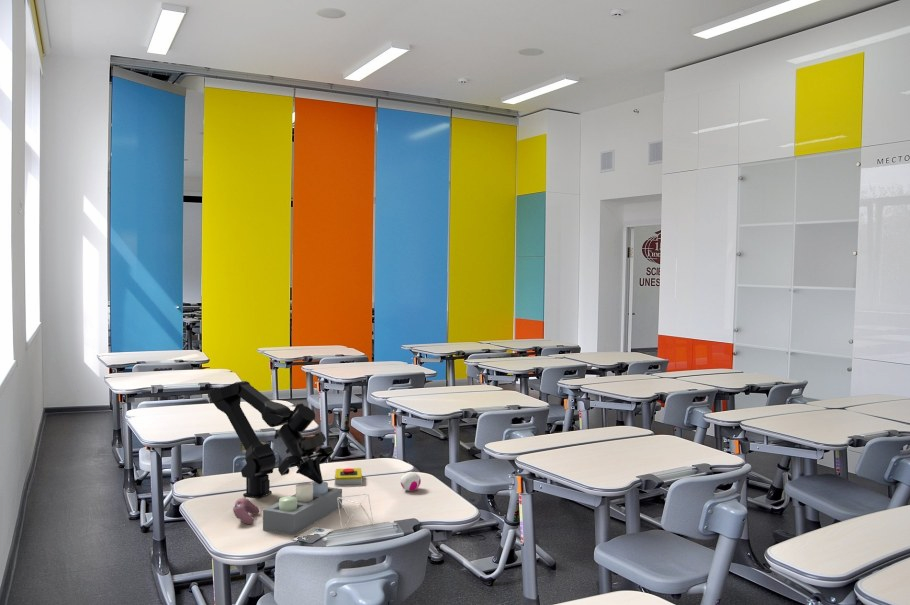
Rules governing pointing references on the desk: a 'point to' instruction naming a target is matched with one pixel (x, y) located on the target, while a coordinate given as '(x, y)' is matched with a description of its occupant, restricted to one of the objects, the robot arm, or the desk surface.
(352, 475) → the emergency button
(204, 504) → the desk surface
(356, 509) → the geometric polyhedron
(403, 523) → the desk surface
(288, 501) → the sage button
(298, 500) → the ivory button
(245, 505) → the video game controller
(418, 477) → the stress ball
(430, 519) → the desk surface
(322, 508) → the grey compartment tray
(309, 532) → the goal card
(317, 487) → the slate-blue button
